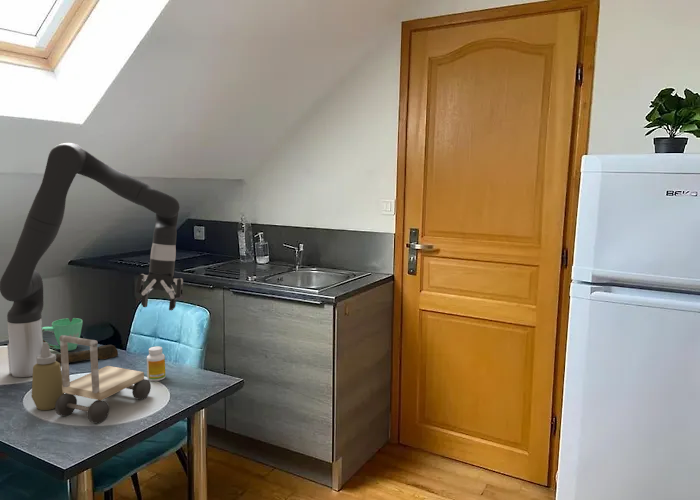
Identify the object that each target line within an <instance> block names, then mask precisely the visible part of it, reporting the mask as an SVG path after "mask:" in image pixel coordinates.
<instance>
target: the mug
mask: <svg viewBox="0 0 700 500" xmlns="http://www.w3.org/2000/svg"><path fill="white" fill-rule="evenodd" d="M83 324H84V323H83V319H81V318H76V317H73V318H71V320H70V318H69V317H68V318H67V317H66V318H60V319H57V320H54V321H52V322H51V326H42V333H43V332H46V331H51V332H53V334H54V337H55V340H56V343H57V344H58V345H56V344H51V343H49V342H47V341H46V340H45V339H44V338H43V343H45V342H47V343H48V345H49V349H57V350H61V349H60V340H59V337H60V336H61V335H64V336H71V337H77V338H81V333H82V328H83ZM67 343H68V342H67ZM78 345H79V344H74V343H68V352H69V351H71V352H72V351H74V350H76V349H77V347H78Z"/></svg>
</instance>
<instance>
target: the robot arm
mask: <svg viewBox="0 0 700 500" xmlns="http://www.w3.org/2000/svg"><path fill="white" fill-rule="evenodd" d="M46 161H47V162H46V166H45V169H44V173H43V178H42V181H41V183H40V186H39V189H38V190H37V193H36V195H35V197H34V199H33V202H32V203H31V206H30V209H29V211H28V213H27V216H26V219H25V221H24V225H23V228H22V231H21V232H20V235H19V238H18V241H17V244H16V247H15V250H14V252H13V255H12V257H11V258H10V261H9V263H8V265H7V267H6V268H5V271H3V274H2V276H1V279H0V295H1V296H2V297H3V298H4V299H5V300H7V301H8V302H13V303H12V306H11V308H10V309H9V310H8V312H7V314H6V319H7V320H6V321H7V331H8V333H7V334H8V343H7V357H8V373H9V374H10V375H11V376H12V377H14V378H28V377H33V366H34V365H35V364H37V362H36V357H37V356H39V355H41V350H42V345H43V339H44V338H43V334H44V333H43V332H42V327H43V321H42V313H43V309H44V304H45V303H44V283H43V278H42V276H41V274H40V272H38V270H36V267H37V265H38V263H39V261H40V260H41V258H42V257H43V256H44V255H45V253H46V252H47V251H48V249H49V248H50V246H52V244H53V243H54V241H55V240H56V238H57V236H58V233H59V231H60V228H61V225H62V223H63V219H64V214H65V210H66V202H67V195H68V193H69V190H70V187H71V185H72V184H73V181H74V179H75V177H76V175H77V174H78V175H81V176H82V177H83V176H84V177H86V178H89V179H91V180H93V181H95V182H97V183H99V184H101V185H103V186H104V187H105V188H107V189H108V190H110V191H111V192H113V193H114V194H116V195H117V196H119V197H121V198H123V199H125V200H127V201H129V202H130V203H131V202H132V203H134V204H136V205H138V206H140V207H144V208H145V209H147V210H149V211H150V212H152V213H154V214H155V226H154V228H153V229H154V230H153V234H152V235H153V236H152V244H151V249H150V257H149V258H150V260H149V269H148V274H144V273H140V274H138V277H137V282H136V283H137V284H136V289H135V292H136V293H137V294H140V295H141V300H140V301H141V306H142V307H143V308H147V307H148V303H149V295H148V294H149V293H150V292H151V291H152V290H156V291H157V290H160V291H163V292H164V291H165V292H166V293H167V294H168V295H169V297H170V299H169V307H168V310H169V311H173V310H174V309H175V308H176V305H177V299H178V298H181V297H182V298H183V295H184V294H183V293H184V278H182V277H180V278H175V276H174V274H175V263H176V258H177V256H176V253H177V250H176V245H177V235H178V234H177V226H178V219H179V211H180V203H179V201H178V200H177V199H176V198H175V197H174V196H171V195H170V194H167V193H164V192H163V191H161V190H158V189H155V188H153V187H152V186H151V185H149V184H148V183H145V182H144V181H141V180H139V179H137V178H135V177H133V176H131V175H129V174H127V173H125V172H122V171H120V170H118V169H117V168H114V167H113V166H110V165H109V164H107V163H105V162H104V161H102V160H100V159H99V158H97V157H96V156H94V155H93V154H91V153H90V152H89V151H87V150H86V149H84V148H83V147H81V146H80V145H79V144H77V143H74V142H62V143H59V144H57V145H55V146H54V147H52V149H50V151H49V154H48V157H47V160H46ZM146 281H148V283H149V284H148V285H147V286H146V287H145V289H144V285H145V282H146ZM173 283H174V284H175V286H176V292H175V289H174V287H173Z"/></svg>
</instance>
